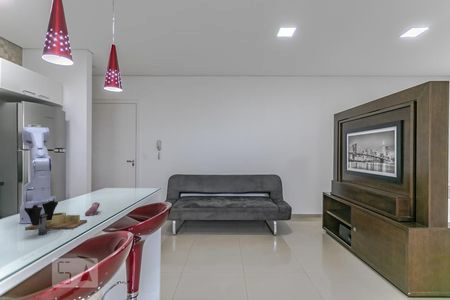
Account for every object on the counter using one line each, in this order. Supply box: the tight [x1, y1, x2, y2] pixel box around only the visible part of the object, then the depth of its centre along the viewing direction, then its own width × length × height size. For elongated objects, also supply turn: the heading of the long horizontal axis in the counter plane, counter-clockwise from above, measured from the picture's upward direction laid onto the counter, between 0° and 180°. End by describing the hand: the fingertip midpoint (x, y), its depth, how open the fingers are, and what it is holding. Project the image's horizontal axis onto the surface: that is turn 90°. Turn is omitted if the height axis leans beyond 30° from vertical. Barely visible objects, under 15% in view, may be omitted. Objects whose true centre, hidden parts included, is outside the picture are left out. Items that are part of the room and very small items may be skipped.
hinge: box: [47, 212, 81, 226], centre depth 115 cm, size 19×6×4 cm, turn 90°
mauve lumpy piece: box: [84, 201, 101, 217], centre depth 137 cm, size 10×5×7 cm, turn 17°
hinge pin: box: [37, 214, 48, 236], centre depth 104 cm, size 3×3×8 cm
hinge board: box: [24, 219, 88, 231], centre depth 115 cm, size 20×11×1 cm, turn 90°
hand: (42, 222), depth 104 cm, fingers open, 7 cm apart
